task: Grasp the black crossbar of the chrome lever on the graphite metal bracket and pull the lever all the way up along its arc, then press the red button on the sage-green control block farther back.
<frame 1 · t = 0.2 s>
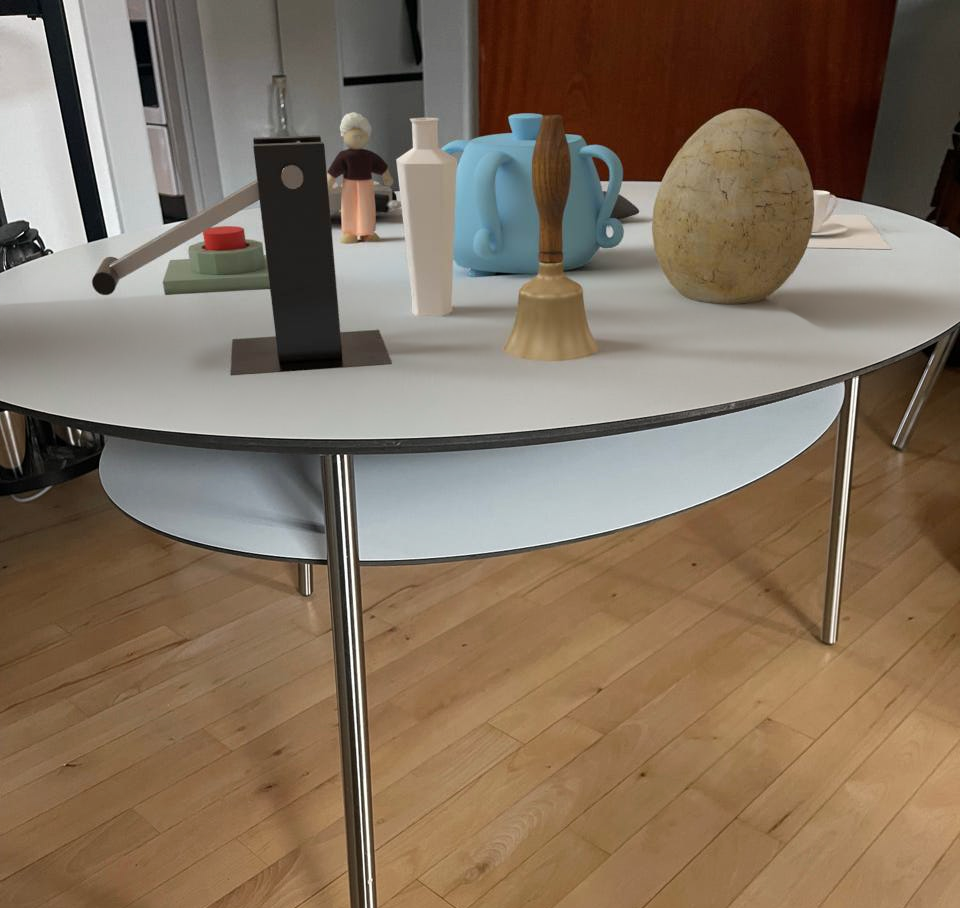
grandmother figurine: (363, 242, 113), on the table
button: (224, 240, 91), point 4 cm above the table, slide at 0.1 cm
teacup and saucer: (784, 231, 116), on the table
robot toy: (337, 221, 125), on the table
fossilized egg: (722, 309, 87), on the table
lever: (203, 221, 67), point 10 cm above the table, hinge at -25.0°
decorative pot: (525, 272, 100), on the table
control block: (231, 291, 94), on the table
toy plane: (537, 219, 124), on the table
hand bell: (550, 365, 74), on the table
white faceted vase: (430, 328, 83), on the table
bracket: (310, 367, 74), on the table
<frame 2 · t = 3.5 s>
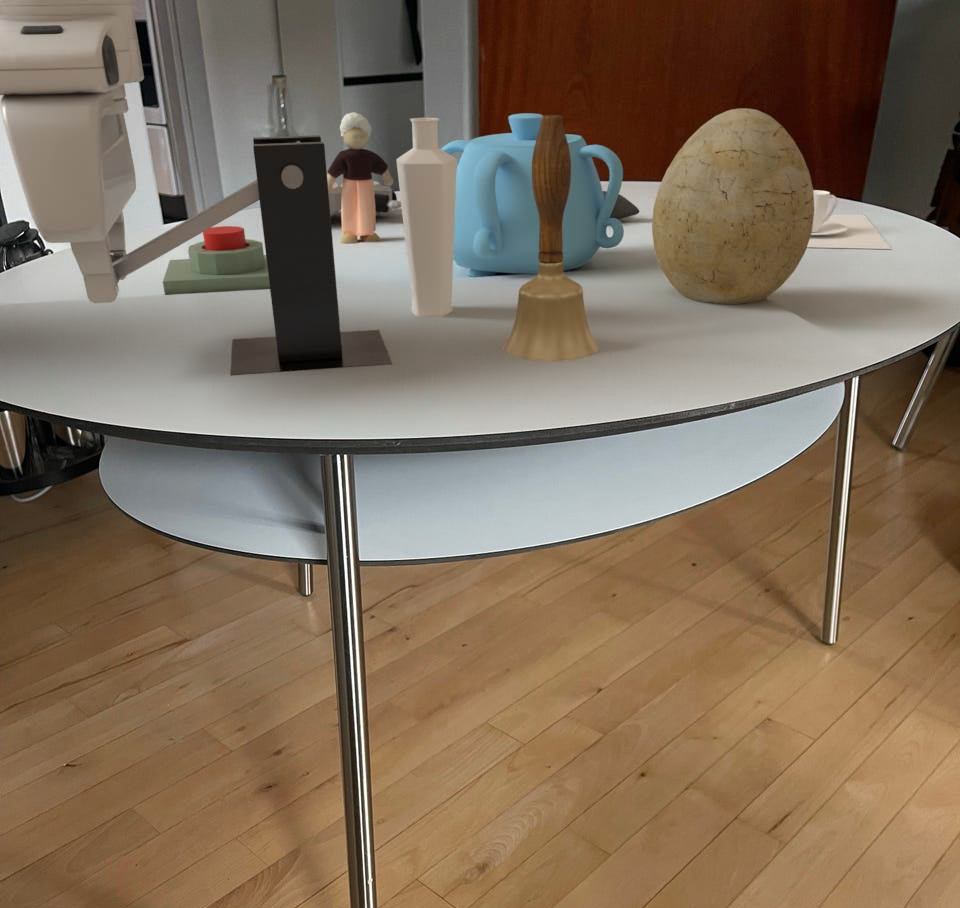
hand: (110, 289, 68), 6 cm above the table, tool pointing down, fingers closed on lever, 5 cm apart
lever: (203, 221, 67), point 10 cm above the table, hinge at -25.0°, touching gripper
everything else where it was.
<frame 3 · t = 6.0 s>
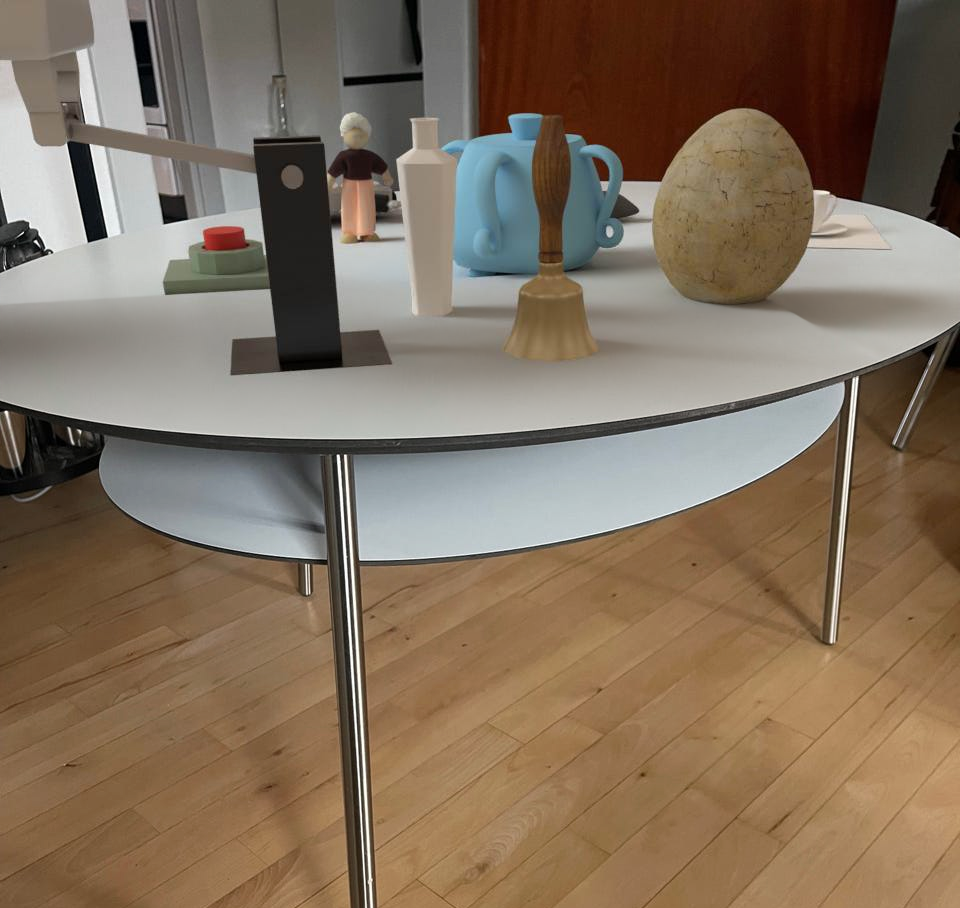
hand: (61, 139, 64), 15 cm above the table, tool pointing down, fingers closed on lever, 5 cm apart
lever: (185, 151, 65), point 14 cm above the table, hinge at 11.9°, touching gripper
everything else where it was.
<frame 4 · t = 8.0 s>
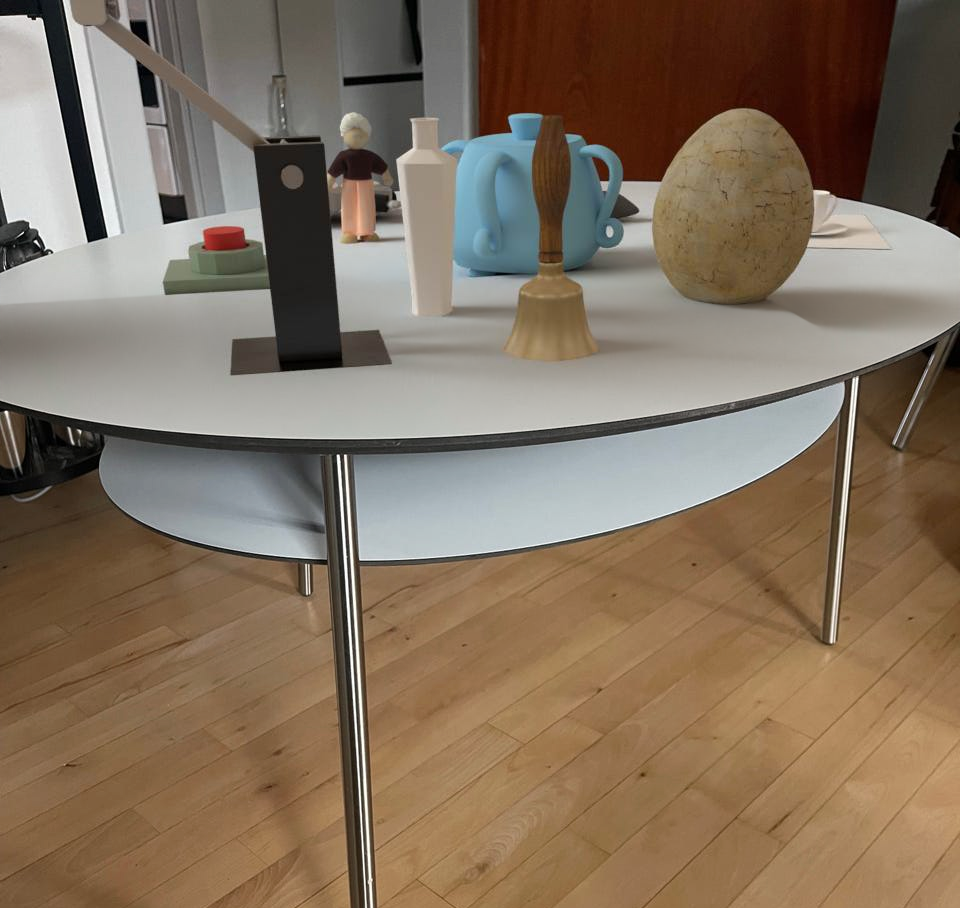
hand: (99, 24, 61), 21 cm above the table, tool pointing down, fingers closed on lever, 5 cm apart
lever: (200, 99, 64), point 17 cm above the table, hinge at 40.1°, touching gripper
everything else where it was.
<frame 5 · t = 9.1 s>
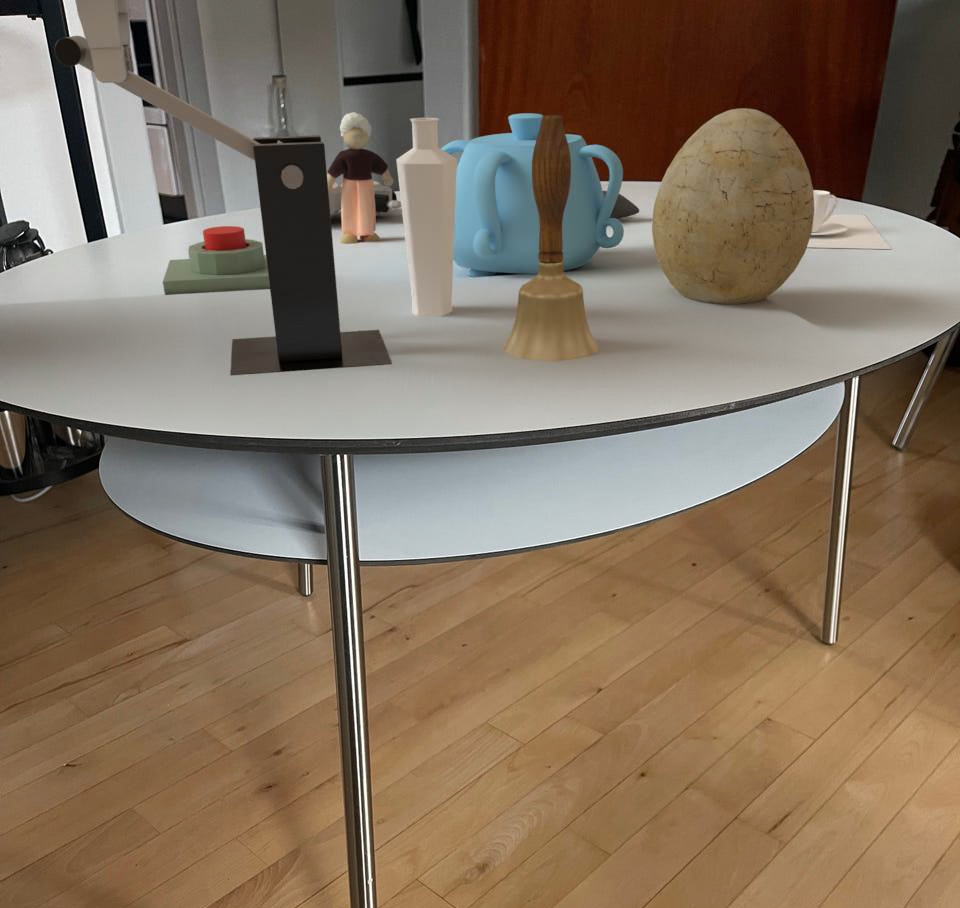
hand: (116, 80, 62), 18 cm above the table, tool pointing down, fingers closed
lever: (192, 116, 64), point 16 cm above the table, hinge at 30.3°
everything else where it was.
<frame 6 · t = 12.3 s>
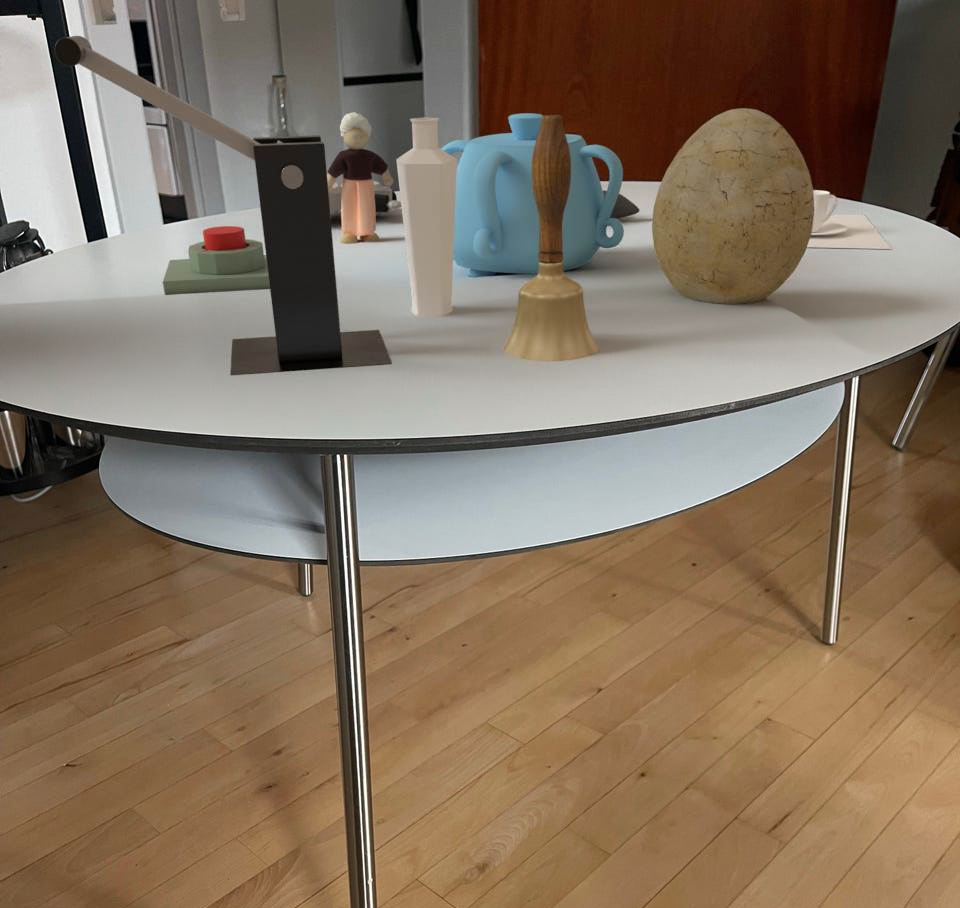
hand: (170, 22, 75), 21 cm above the table, tool pointing down, fingers open, 8 cm apart
nothing on the table moved.
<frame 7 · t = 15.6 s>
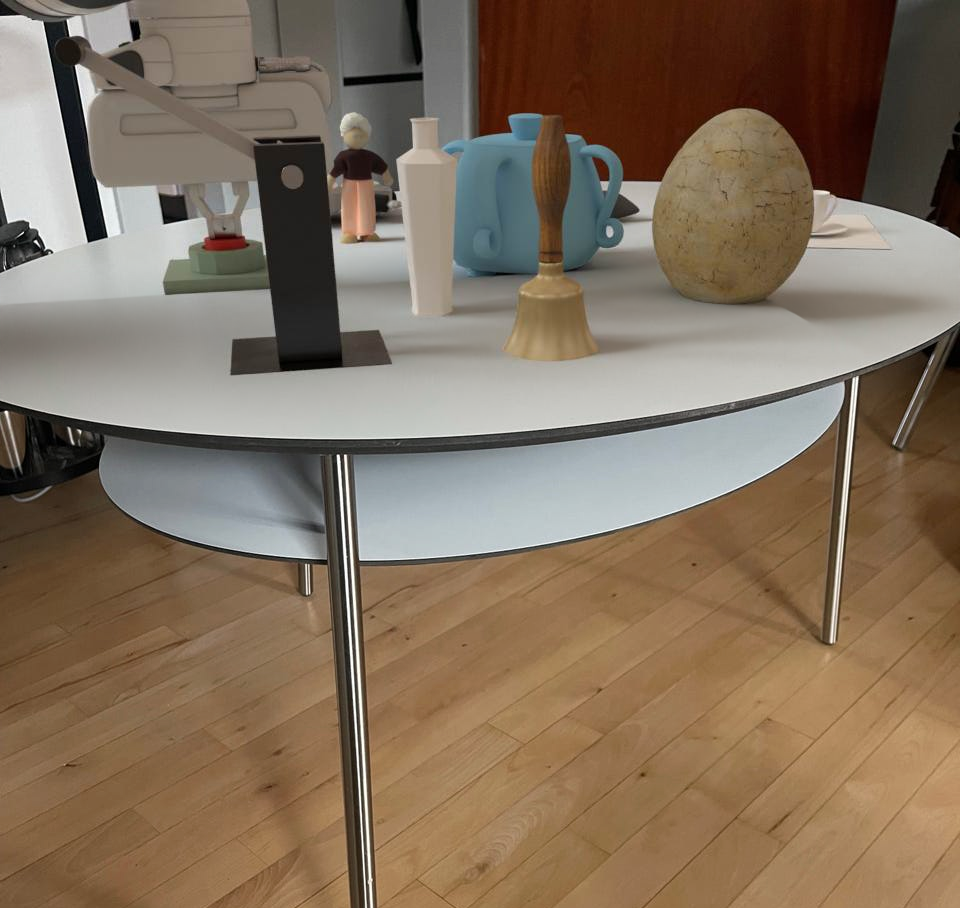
hand: (226, 237, 91), 5 cm above the table, tool pointing down, fingers closed, pressing on button
button: (225, 247, 92), point 4 cm above the table, slide at -0.6 cm, touching gripper
everything else where it was.
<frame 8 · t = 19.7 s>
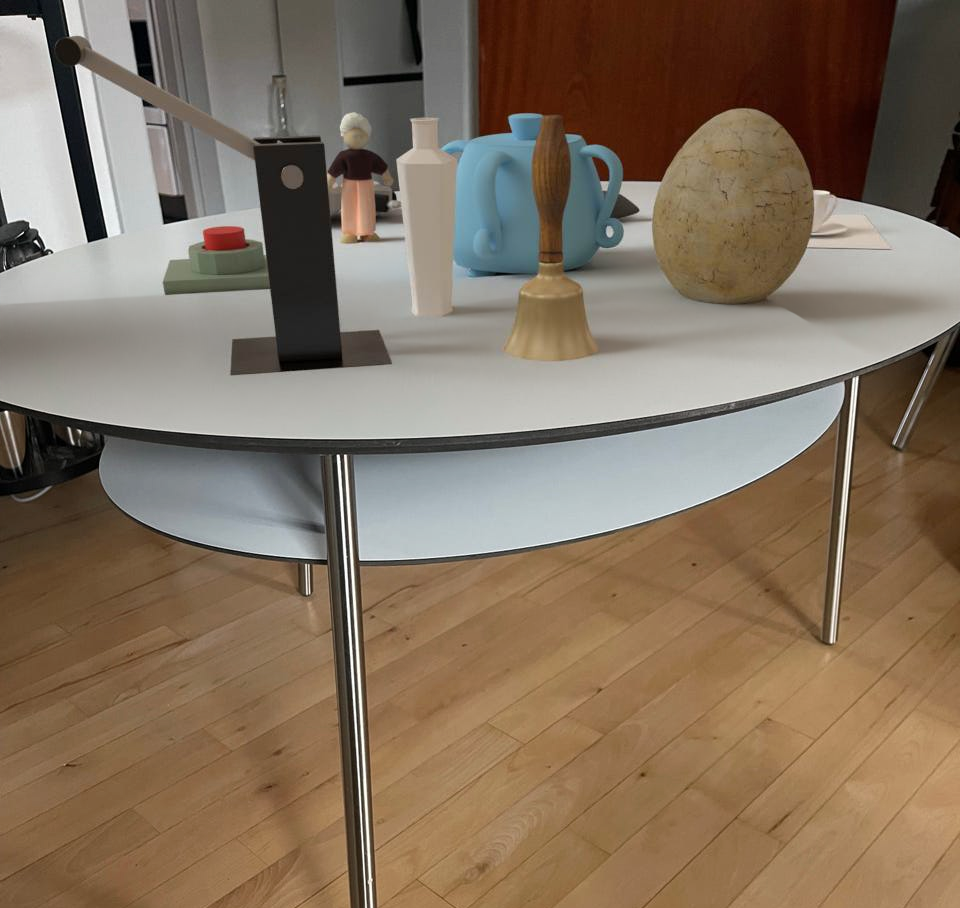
button: (224, 240, 91), point 4 cm above the table, slide at 0.1 cm
everything else where it was.
at the end: lever at +30° (first picture: -25°); button pushed in 1.1 cm at the most during the clip, back to where it started at the end; button slide at 0.1 cm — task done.
